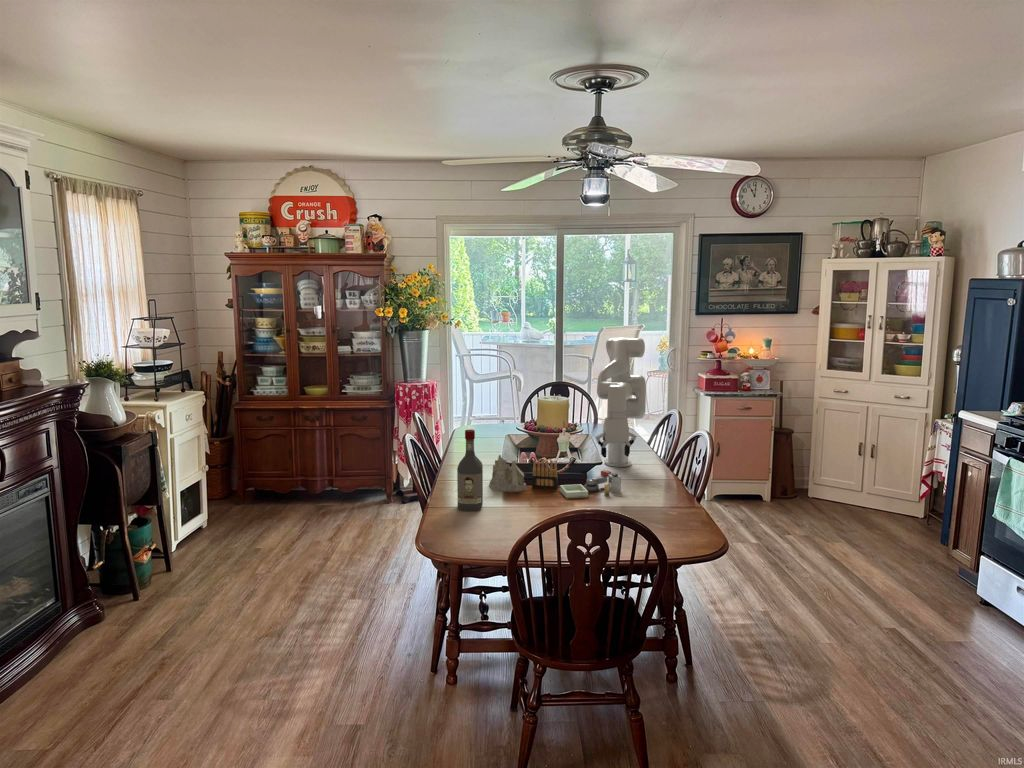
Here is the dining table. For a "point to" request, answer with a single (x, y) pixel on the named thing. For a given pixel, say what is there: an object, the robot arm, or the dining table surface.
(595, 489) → the crank pedestal
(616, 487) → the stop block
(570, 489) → the tray
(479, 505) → the liquor
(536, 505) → the dining table surface
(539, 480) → the ammunition clip
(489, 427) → the dining table surface
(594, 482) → the crank
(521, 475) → the grey castle model
